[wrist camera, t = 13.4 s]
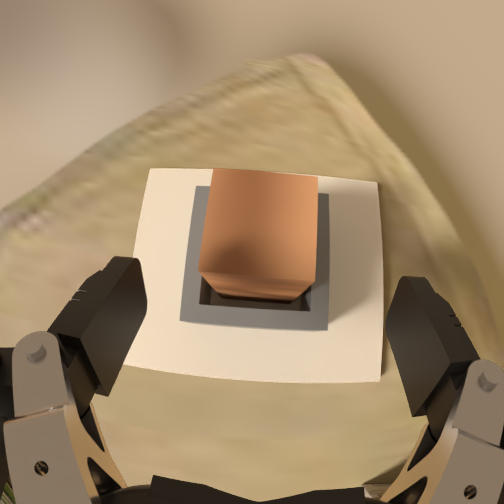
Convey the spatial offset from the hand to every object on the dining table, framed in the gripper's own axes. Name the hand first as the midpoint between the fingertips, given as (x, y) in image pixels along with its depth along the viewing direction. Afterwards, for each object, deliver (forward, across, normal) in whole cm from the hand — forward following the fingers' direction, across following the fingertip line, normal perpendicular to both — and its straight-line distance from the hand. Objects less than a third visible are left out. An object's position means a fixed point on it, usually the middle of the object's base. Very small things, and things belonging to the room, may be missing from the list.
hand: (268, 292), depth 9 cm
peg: (+10, 0, +6) cm, 12 cm away
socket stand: (+11, +1, +7) cm, 13 cm away
